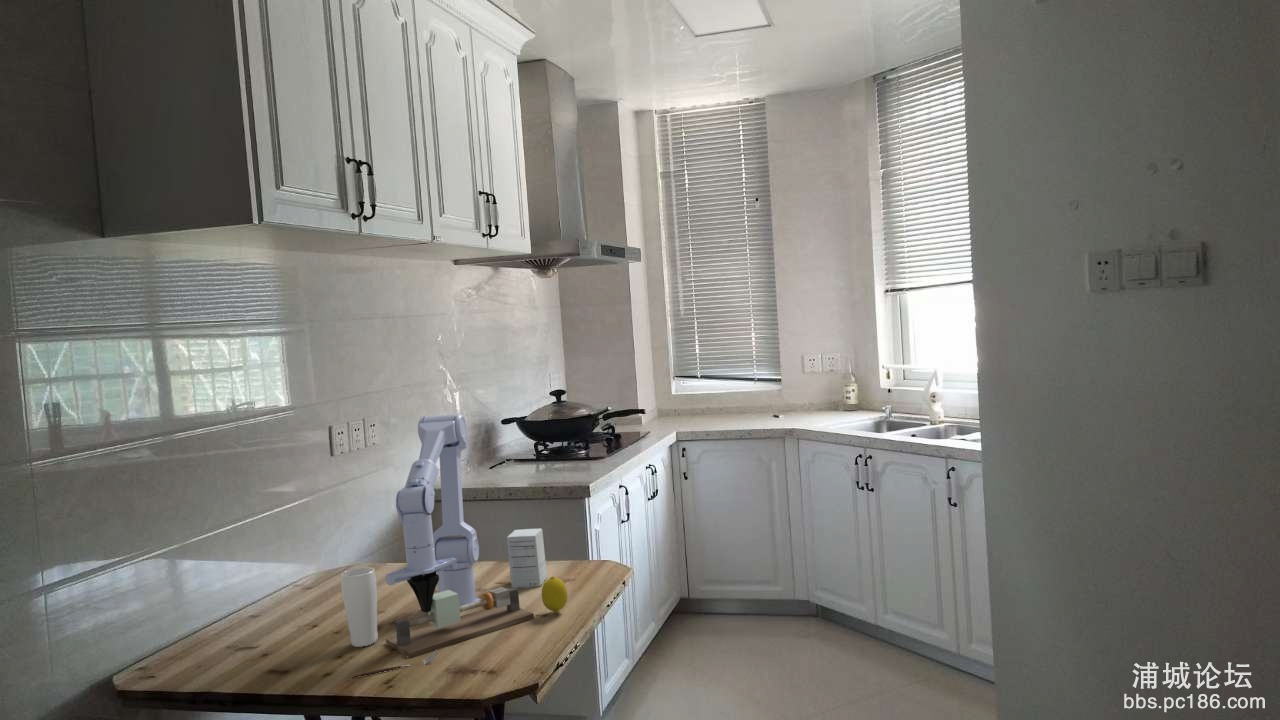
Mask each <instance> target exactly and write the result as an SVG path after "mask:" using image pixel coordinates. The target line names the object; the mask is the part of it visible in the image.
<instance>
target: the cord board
mask: <svg viewBox="0 0 1280 720" xmlns="http://www.w3.org/2000/svg"><path fill="white" fill-rule="evenodd" d="M480 599H481V600H480V601H476V602H473V603H469V604H466V605H463V606H459V608H460V613H463V612H467V611H469V610H473V609H476V608H479V607H483V609H480V610H477V611H473V612H469V613H467V614H463V615H460V618H461V622H457V623H454V624H451V625H448V626H444V627H441V628H437V627H435V626H433V625H431V624H429V625H427V626H423V627H420V628H417V629H413V630H411V631H410V628H412V627H415V626H418V625H423V624H425V623H429V621H433V620H435V614H432V615H428V614H427V615H425V616H422V617H419V618H415V619H411V620H407V619H405V618H403V619H399V620H397V621H395V631H396V632H395V633H396V635H394V636H390V637H387V638H385V643H387V644H386V645H388V644H389V645H391V646H392V647H391V646H390V647H391V648H393V647H394V648H395V649H394V648H393V649H394V650H396V649H397V650H398V651H397V650H396V651H397V652H399V651H400V652H399V653H401V654H402V653H403V654H402V655H404V656H405V655H406V656H405V657H407V656H408V657H409V659H411V658H414V657H417V656H416V655H418V656H420V654H421V655H423V654H427V653H429V652H432V651H433V652H434V651H435V650H439V649H443V648H445V647H448V646H452V645H455V644H458V643H461V642H464V641H467V640H470V639H473V638H477V637H480V636H483V635H486V634H489V633H492V632H495V631H498V630H501V629H502V630H503V629H504V628H508V627H511V626H515V625H518V624H520V623H523V622H526V621H529V620H533V619H535V617H534V615H535V614H534V613H533V612H530V611H528V610H525V609H523V608H521V607H520V606H521V605H520V598H519V588H512V587H510V588H506V587H503V586H500V587H498V588H494V589H491V590H488V591H486V592H483V593H482V594H481V598H480ZM389 645H388V646H389ZM413 656H414V657H413ZM408 657H407V658H408ZM410 657H411V658H410Z"/></svg>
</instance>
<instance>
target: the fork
mask: <svg viewBox="0 0 1280 720" xmlns="http://www.w3.org/2000/svg"><path fill="white" fill-rule="evenodd" d="M438 655H439V651H438V649H436V650H433V652H432V653H430V654H429V655H428V656H427V657H426V658H424V659H423V660H422V661H423V662H424V665H423V666H426V665H427V664H429V663H431V661H432V660H433V659H435V658H436V657H437V656H438ZM425 664H426V665H425ZM404 666H410V664H405V665H399V666H391V667H386V668H381V669H377V670H373V671H368V672H364V673H361V674H357V675H354V676H353V675H352V677H358V676H364V675H369V674H375V673H379V672H384V671H388V672H390V671H389V670H392V671H394V670H393V669H396V668H400V667H404ZM410 667H411V666H410ZM404 668H405V667H404ZM400 669H401V668H400ZM396 670H397V669H396ZM384 673H385V672H384ZM375 675H376V674H375ZM369 676H370V675H369ZM364 677H365V676H364Z"/></svg>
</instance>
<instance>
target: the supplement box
mask: <svg viewBox="0 0 1280 720" xmlns="http://www.w3.org/2000/svg"><path fill="white" fill-rule="evenodd" d="M543 533H544V532H543V528H524V529H514V530H513V531H512V532H511V533H509V535H507V536H506V542H507V553H508V564H509V571H510V572H509V575H510V583H511V588H516V589H519V588H534V587H533V586H539V587H541V584H542V585H543V584H544V583H545V581H544V580H546V579H547V578H548V574H547V563H546V554H545V553H546V552H545V545H544V544H545V543H544V534H543ZM546 577H547V578H546Z"/></svg>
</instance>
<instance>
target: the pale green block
mask: <svg viewBox="0 0 1280 720" xmlns="http://www.w3.org/2000/svg"><path fill="white" fill-rule="evenodd" d="M432 614H435V620H433V621H429V622H428V623H429V625H433V626H435V627H437V628H441V627H444V626H448V625H451V624H454V623H457V622H461V618H460V616H461V612H460V608H459V597H458V594H457V593H455V592H453V591H450V590H447V591H443V592H439V593H438V592H436V593H434V595H433V599H432V605H431V611H429V612H427V616H428V615H432Z"/></svg>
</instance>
